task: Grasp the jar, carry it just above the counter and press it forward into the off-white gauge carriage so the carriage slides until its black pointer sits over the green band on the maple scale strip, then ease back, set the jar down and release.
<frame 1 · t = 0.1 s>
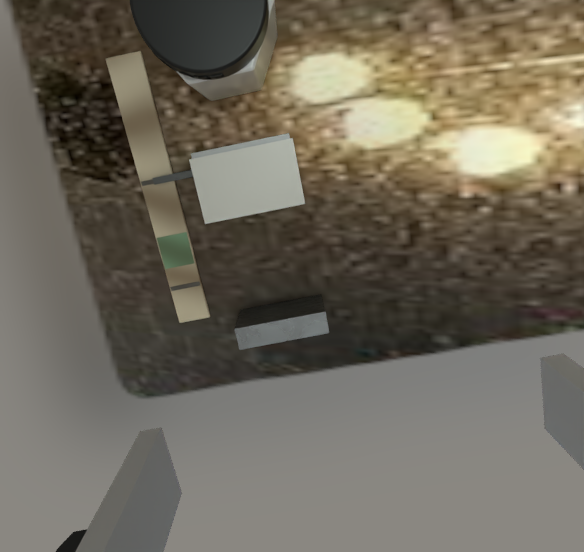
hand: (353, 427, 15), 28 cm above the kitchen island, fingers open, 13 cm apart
two-tone gray brick: (282, 311, 44), on the kitchen island
jar: (225, 47, 38), on the kitchen island
carriage: (223, 183, 37), point 3 cm above the kitchen island, slide at 0.0 cm
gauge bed: (162, 197, 41), on the kitchen island
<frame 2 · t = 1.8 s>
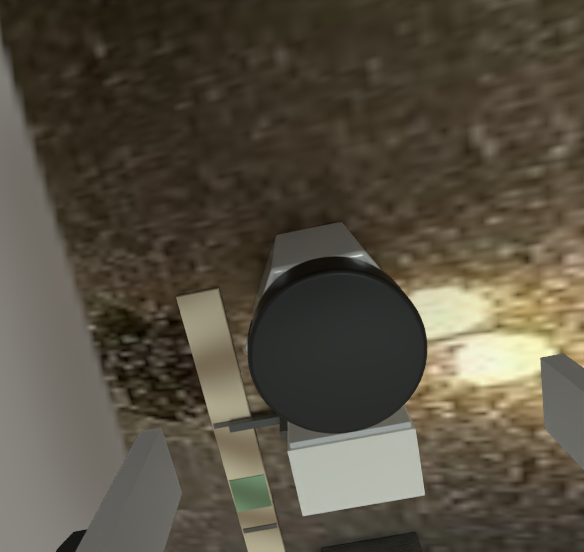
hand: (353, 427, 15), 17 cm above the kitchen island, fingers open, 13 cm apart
two-tone gray brick: (370, 549, 38), on the kitchen island
jar: (319, 281, 32), on the kitchen island
carriage: (317, 447, 31), point 3 cm above the kitchen island, slide at 0.0 cm
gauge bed: (236, 436, 35), on the kitchen island
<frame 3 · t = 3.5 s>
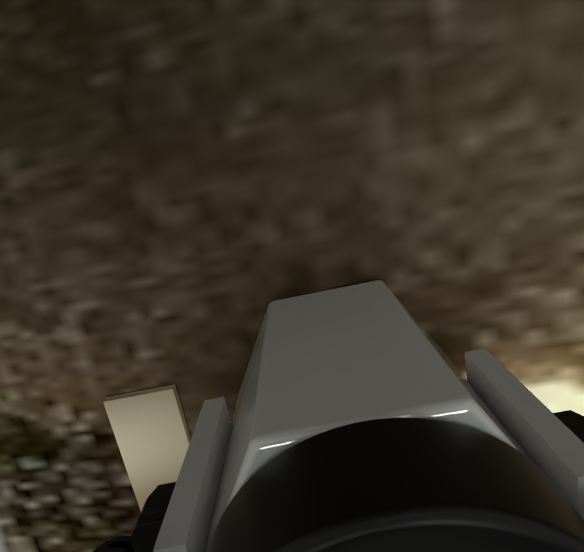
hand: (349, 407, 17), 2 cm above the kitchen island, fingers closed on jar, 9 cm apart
jar: (341, 373, 19), on the kitchen island, touching gripper
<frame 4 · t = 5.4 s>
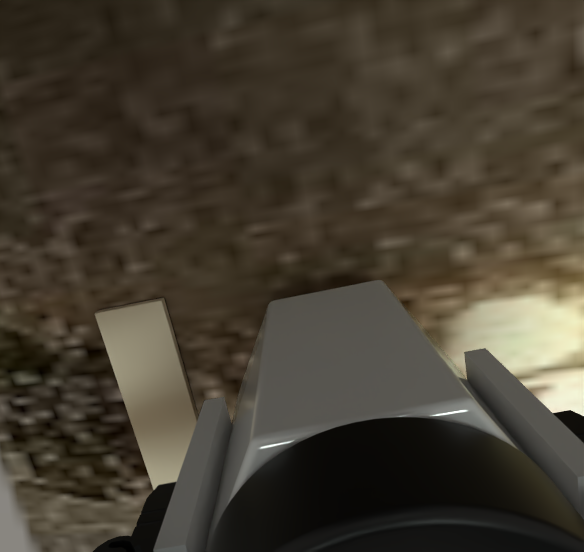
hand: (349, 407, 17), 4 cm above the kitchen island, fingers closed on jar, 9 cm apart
jar: (340, 373, 19), point 1 cm above the kitchen island, touching gripper
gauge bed: (199, 522, 23), on the kitchen island
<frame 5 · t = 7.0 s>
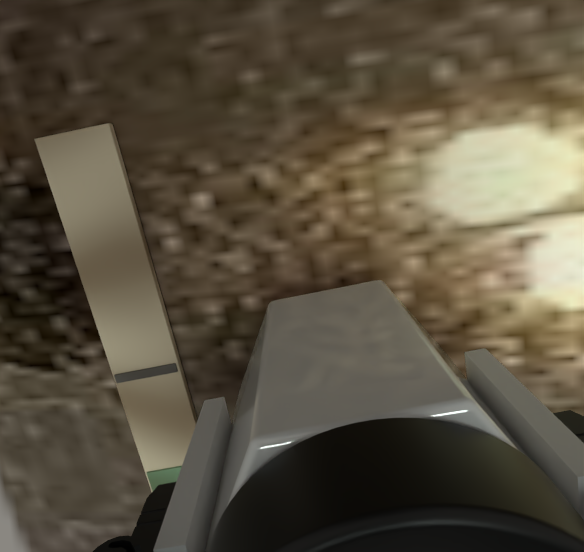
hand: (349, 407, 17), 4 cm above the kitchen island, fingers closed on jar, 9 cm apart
jar: (341, 373, 19), point 1 cm above the kitchen island, touching gripper
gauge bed: (158, 397, 21), on the kitchen island
when the fingers open (2 cm above the kitchen island, at t = 9.1 s): jar stays where it is, on the kitchen island.
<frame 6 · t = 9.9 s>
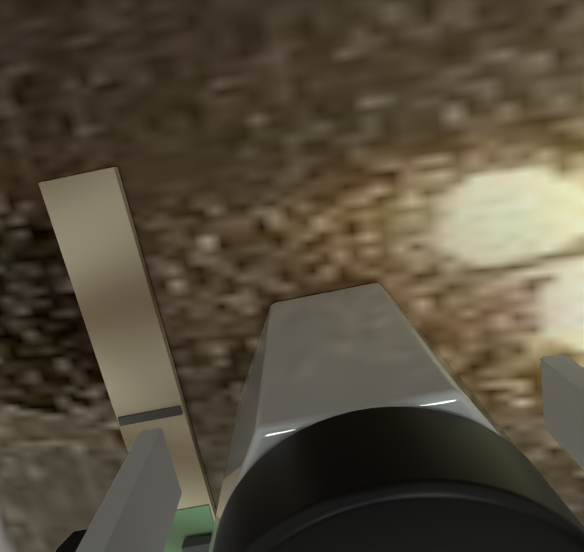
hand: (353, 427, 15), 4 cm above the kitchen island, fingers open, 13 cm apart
jar: (339, 372, 20), on the kitchen island
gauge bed: (162, 439, 20), on the kitchen island
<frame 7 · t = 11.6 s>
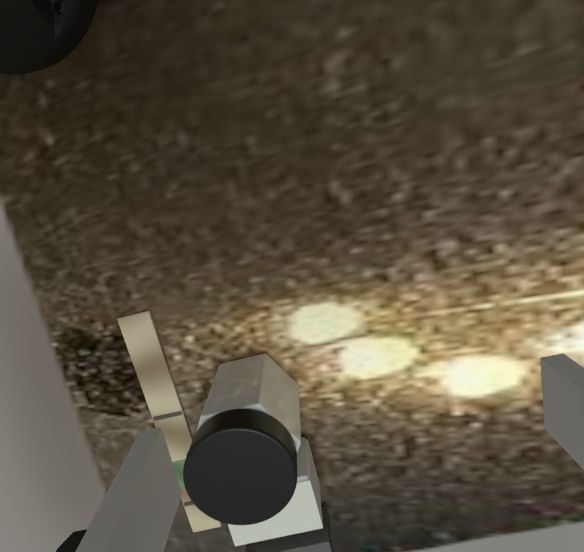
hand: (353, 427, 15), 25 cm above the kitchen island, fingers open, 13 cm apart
two-tone gray brick: (289, 517, 46), on the kitchen island
jar: (253, 393, 43), on the kitchen island
carriage: (248, 493, 42), point 3 cm above the kitchen island, slide at 6.7 cm
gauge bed: (173, 426, 44), on the kitchen island
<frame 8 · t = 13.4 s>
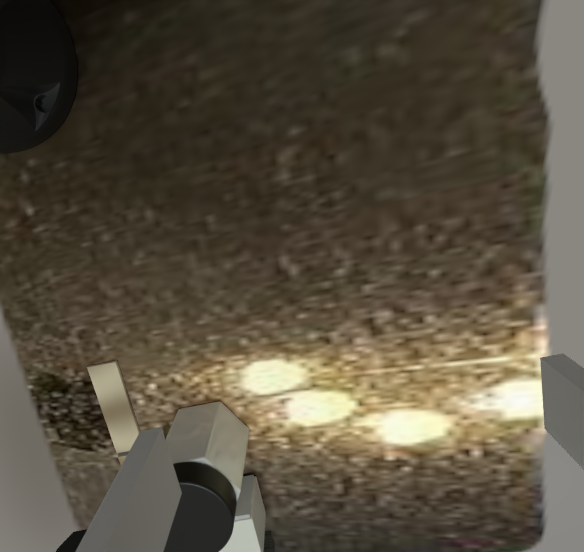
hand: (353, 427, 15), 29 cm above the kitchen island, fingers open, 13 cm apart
two-tone gray brick: (238, 543, 52), on the kitchen island
jar: (209, 434, 48), on the kitchen island
carriage: (200, 524, 47), point 3 cm above the kitchen island, slide at 6.7 cm
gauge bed: (136, 461, 49), on the kitchen island
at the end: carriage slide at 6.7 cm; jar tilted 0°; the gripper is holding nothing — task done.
